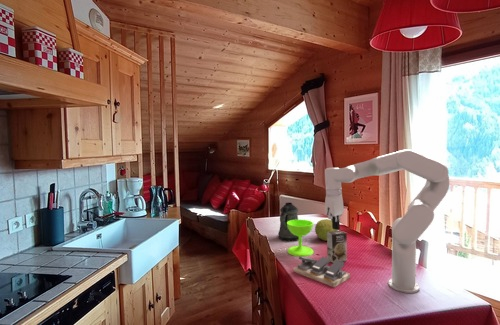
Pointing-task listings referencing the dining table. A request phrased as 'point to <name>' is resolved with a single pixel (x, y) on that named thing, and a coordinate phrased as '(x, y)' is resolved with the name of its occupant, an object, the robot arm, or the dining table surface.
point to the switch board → (321, 274)
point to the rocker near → (334, 268)
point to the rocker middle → (320, 264)
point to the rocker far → (307, 259)
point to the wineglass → (300, 236)
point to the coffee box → (337, 246)
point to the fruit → (323, 228)
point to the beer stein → (286, 215)
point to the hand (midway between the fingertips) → (336, 228)
